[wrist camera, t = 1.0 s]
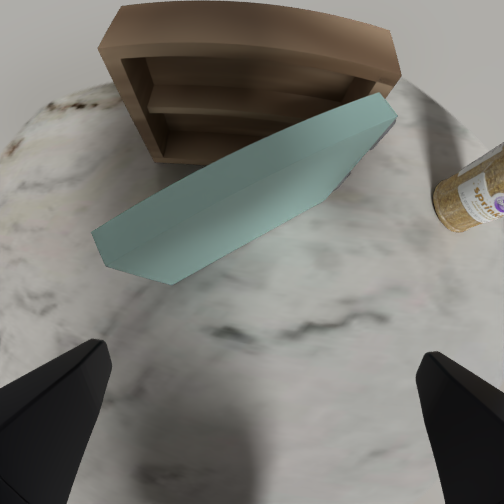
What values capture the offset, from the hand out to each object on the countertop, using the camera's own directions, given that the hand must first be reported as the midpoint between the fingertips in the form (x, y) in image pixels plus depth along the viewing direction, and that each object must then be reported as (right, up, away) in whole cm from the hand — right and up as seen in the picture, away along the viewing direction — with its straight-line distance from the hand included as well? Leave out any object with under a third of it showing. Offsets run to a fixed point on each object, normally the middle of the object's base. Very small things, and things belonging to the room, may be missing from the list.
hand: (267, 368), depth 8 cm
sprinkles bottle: (+16, +7, +14) cm, 22 cm away
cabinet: (-1, +10, +13) cm, 17 cm away
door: (0, +5, +12) cm, 13 cm away
